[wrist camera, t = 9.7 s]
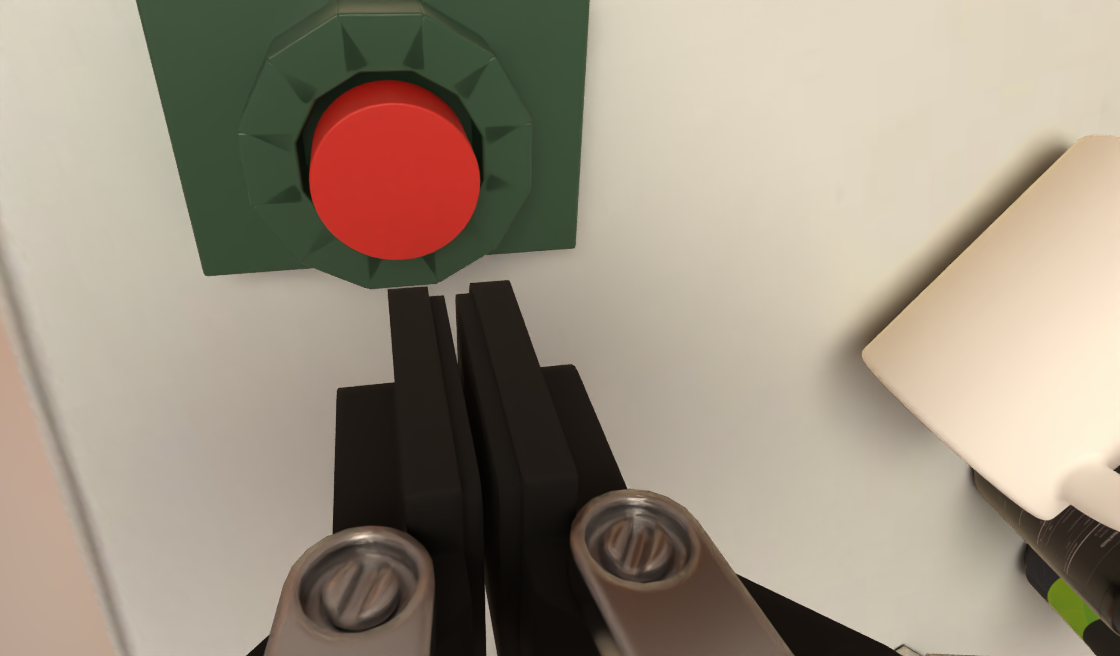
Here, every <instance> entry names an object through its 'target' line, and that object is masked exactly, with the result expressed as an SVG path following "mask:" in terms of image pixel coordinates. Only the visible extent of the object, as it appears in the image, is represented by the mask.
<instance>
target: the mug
mask: <svg viewBox="0 0 1120 656" xmlns="http://www.w3.org/2000/svg"><path fill="white" fill-rule="evenodd" d="M862 358H863V360H864V362H865V363H866V365H867V366H868V367H869V369H870V370H871V371H872V372H873V373H874V374H875V376H876V377H877V378H878V379H879V380H880V381H881V382H882V383H883V384H884V385H885V386H886V387H887V388H888V389H889V390H890V392H891V393H892V394H893V395H894V396H895V397H896V398H897V399H898V400H899V401H900V402H901V403H903V404H904V405H905V406H906V407H907V408H908V409H909V410H910V411H911V412H912V413H913V414H914V415H915V416H916V417H917V418H918V419H919V420H920V421H921V422H922V423H923V424H924V425H925V426H927V427H928V428H929V429H930V430H931V431H932V432H933V433H934V434H935V435H936V436H937V437H938V438H940V439H941V440H942V441H943V442H944V443H945V444H946V445H947V446H948V447H949V448H951V449H952V450H953V451H954V452H955V453H956V454H957V455H958V456H960V457H961V458H962V459H963V460H964V461H965V462H966V463H968V464H969V465H970V466H971V467H972V468H973V469H974V470H976V471H977V472H978V473H979V474H980V475H981V476H983V477H984V478H985V479H986V480H987V481H989V482H990V483H991V484H992V485H993V486H995V487H996V488H997V489H998V490H999V491H1001V492H1002V493H1003V494H1004V495H1006V496H1007V497H1008V498H1009V499H1011V500H1012V501H1013V502H1015V503H1016V504H1017V505H1019V506H1020V507H1021V508H1023V509H1024V510H1026V511H1027V512H1028V513H1030V514H1032V515H1033V516H1035V517H1037V518H1039V519H1042V520H1051V519H1053V518H1054V517H1056V516H1057V515H1058V514H1059V513H1061V512H1062V511H1063V510H1064V509H1066V508H1067V507H1068V506H1069V505H1072V506H1074V507H1075V508H1077V509H1078V510H1080V511H1081V512H1083V513H1084V514H1086V515H1087V516H1089V517H1091V518H1092V519H1094V520H1096V521H1098V522H1100V523H1102V524H1104V525H1106V526H1108V527H1110V528H1112V529H1114V530H1117V531H1119V532H1120V474H1118V473H1117V472H1115V471H1113V470H1114V469H1115V468H1117V467H1118V466H1119V465H1120V137H1116V136H1109V135H1090V136H1086V137H1083V138H1081V139H1079V140H1078V141H1077V142H1075V143H1074V144H1073V145H1072V146H1071V147H1070V148H1069V149H1068V150H1067V151H1066V152H1065V153H1064V154H1063V155H1062V156H1061V157H1060V158H1059V159H1058V160H1057V161H1056V162H1055V163H1054V164H1053V165H1052V166H1051V167H1050V168H1049V169H1048V170H1047V171H1046V172H1045V173H1043V174H1042V175H1041V176H1040V177H1039V178H1038V179H1037V180H1036V181H1035V182H1034V183H1033V184H1032V185H1031V186H1030V187H1029V188H1028V189H1027V190H1026V191H1025V192H1024V193H1023V194H1022V195H1021V196H1020V197H1019V198H1018V199H1017V200H1016V201H1015V202H1014V203H1013V204H1012V205H1011V206H1010V207H1009V208H1008V209H1007V210H1006V211H1005V212H1004V213H1002V214H1001V215H1000V216H999V217H998V218H997V219H996V220H995V221H994V222H993V223H992V224H991V225H990V226H989V227H988V228H987V229H986V230H985V231H984V232H983V233H982V234H981V235H980V236H979V237H978V238H977V239H976V240H975V241H974V242H973V243H972V244H971V245H970V246H969V247H968V248H967V249H966V250H965V251H964V252H963V253H961V254H960V255H959V256H958V257H957V258H956V259H955V260H954V261H953V262H952V263H951V264H950V265H949V266H948V267H947V268H946V269H945V270H944V271H943V272H942V273H941V274H940V275H939V276H938V277H937V278H936V279H935V280H934V281H933V282H932V283H931V284H930V285H929V286H928V287H927V288H926V289H925V290H924V291H923V292H922V293H920V294H919V295H918V296H917V297H916V298H915V299H914V300H913V301H912V302H911V303H910V304H909V305H908V306H907V307H906V308H905V309H904V310H903V311H902V312H901V313H900V314H899V315H898V316H897V317H896V318H895V319H894V320H893V321H892V322H891V323H890V324H889V325H888V326H887V327H886V328H885V329H884V330H883V331H882V332H881V333H879V334H878V335H877V336H876V337H875V338H874V339H873V340H872V341H871V342H870V343H869V344H868V345H867V346H866V347H865V348H864V349H863V351H862Z"/></svg>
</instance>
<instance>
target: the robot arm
mask: <svg viewBox="0 0 1120 656" xmlns="http://www.w3.org/2000/svg"><path fill="white" fill-rule="evenodd" d="M388 301H389V314H390V327H391V340H392V353H393V366H394V379H395V382H393V383H383V384H373V385H364V386H354V387H344V388H338V390H337V400H336V435H335V470H334V505H333V534H332V535H330V536H327V537H325V538H324V539H322V540H321V541H319V542H318V543H316V544H315V545H313V546H312V547H310V548H309V549H307V550H306V551H305V553H304V554H303V555H302V556H301V557H300V558H299V559H298V560H297V561H296V563H295V564H294V565H293V566H292V568H291V570H290V572H289V574H288V576H287V578H286V581H285V583H284V585H283V588H282V592H281V595H280V599H279V603H278V606H277V610H276V613H275V617H274V621H273V624H272V628H271V631H270V635H268V636H267V637H266V638H265V639H264V640H263V641H262V642H261V643H260V644H259V645H257V646H256V647H255V648H254V649H253V650H252V651H251V652H250V653H249V654H248V655H246V656H486V624H485V588H486V593H487V599H488V605H489V610H490V616H491V622H492V627H493V633H494V639H495V644H496V650H497V655H498V656H902V655H901V654H899V653H897V652H896V651H894V650H893V649H891V648H889V647H888V646H886V645H884V644H882V643H880V642H878V641H875V640H873V639H871V638H869V637H867V636H865V635H863V634H861V633H859V632H857V631H855V630H853V629H850V628H848V627H846V626H844V625H842V624H840V623H838V622H836V621H834V620H832V619H830V618H827V617H825V616H823V615H821V614H819V613H817V612H815V611H813V610H811V609H809V608H807V607H805V606H802V605H800V604H798V603H796V602H794V601H792V600H790V599H788V598H786V597H784V596H782V595H779V594H777V593H775V592H773V591H771V590H769V589H767V588H765V587H763V586H761V585H759V584H756V583H754V582H752V581H750V580H748V579H746V578H744V577H742V576H740V575H738V574H736V573H735V572H734V571H733V569H732V568H731V567H730V565H729V564H728V562H727V561H726V560H725V558H724V557H723V555H722V554H721V553H720V551H719V550H718V548H717V547H716V546H715V544H714V543H713V541H712V540H711V539H710V537H709V536H708V534H707V533H706V532H705V530H704V529H703V527H702V526H701V525H700V523H699V522H698V521H697V520H696V519H695V518H694V516H693V515H692V514H691V513H690V512H689V511H688V510H687V509H686V508H685V507H683V506H682V505H680V504H678V503H677V502H675V501H673V500H672V499H670V498H668V497H666V496H663V495H660V494H657V493H654V492H651V491H644V490H634V489H627V487H626V484H625V482H624V480H623V477H622V475H621V473H620V470H619V468H618V465H617V463H616V461H615V458H614V456H613V454H612V451H611V449H610V446H609V444H608V442H607V439H606V437H605V435H604V432H603V430H602V427H601V425H600V423H599V420H598V418H597V416H596V413H595V411H594V409H593V406H592V404H591V401H590V399H589V397H588V394H587V392H586V390H585V387H584V385H583V382H582V380H581V378H580V375H579V373H578V371H577V369H576V367H575V366H574V365H572V364H568V365H558V366H548V367H540V365H539V362H538V359H537V357H536V354H535V351H534V348H533V345H532V342H531V340H530V337H529V334H528V331H527V328H526V326H525V323H524V320H523V317H522V314H521V311H520V309H519V306H518V303H517V300H516V297H515V294H514V292H513V289H512V286H511V283H510V281H509V280H504V281H491V282H478V283H470V286H469V293H467V294H456V299H455V302H456V327H457V351H458V364H457V359H456V354H455V348H454V343H453V338H452V333H451V328H450V323H449V318H448V313H447V308H446V303H445V298H444V295H442V296H430V297H429V293H428V287H427V286H426V287H413V288H400V289H388ZM926 656H975V655H949V654H926Z"/></svg>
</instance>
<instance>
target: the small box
mask: <svg viewBox="0 0 1120 656" xmlns="http://www.w3.org/2000/svg"><path fill="white" fill-rule="evenodd" d="M896 652H897V653H899V654H901V655H902V656H920V655H918V654H916V653H915V652H913V651H912V650H910V649H908V648H907V647H905V646H903V647H901V648H900V649H898V650H896Z"/></svg>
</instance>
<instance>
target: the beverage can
mask: <svg viewBox="0 0 1120 656" xmlns="http://www.w3.org/2000/svg"><path fill="white" fill-rule="evenodd" d="M1025 565H1026V577H1027V579H1028V581H1029V582H1030V584H1031V585H1032V586H1033V587H1034V588H1035V589H1036V590H1037V591H1038V592H1039V594H1040V595H1041V596H1042V597H1043V598H1044V599H1045V600H1046V601H1047V602H1048V603H1049V604H1050V605H1051V607H1052V608H1053V609H1054V610H1055V611H1056V612H1057V613H1058V614H1059V615H1060V616H1061V617H1062V619H1063V620H1064V621H1065V622H1066V623H1067V624H1068V625H1069V626H1070V627H1071V628H1072V629H1073V631H1074V632H1075V633H1076V634H1077V635H1078V636H1079V637H1080V638H1081V639H1082V640H1083V641H1084V643H1085V644H1086V645H1087V646H1088V647H1089V648H1090V649H1091V650H1092V651H1093V652H1094V653H1095V655H1096V656H1120V636H1119V635H1117V634H1116V633H1115V632H1113V631H1112V630H1111V629H1110V628H1109V627H1108V626H1107V625H1106V624H1105V623H1104V622H1103V621H1102V620H1101V619H1100V618H1099V617H1098V616H1097V615H1096V614H1095V613H1094V612H1093V611H1092V610H1091V609H1090V608H1089V607H1088V605H1087V604H1086V603H1085V602H1084V601H1083V600H1082V599H1081V598H1080V597H1079V596H1078V595H1077V594H1076V593H1075V592H1074V591H1073V590H1072V589H1071V588H1070V587H1069V586H1068V585H1067V584H1066V583H1065V582H1064V581H1063V580H1062V579H1061V578H1060V576H1059V575H1058V574H1057V573H1056V572H1055V571H1054V570H1053V569H1052V568H1051V567H1050V566H1049V565H1048V564H1047V563H1046V562H1045V561H1044V560H1043V559H1042V558H1041V557H1040V556H1039V555H1038V554H1037V553H1036V552H1035V551H1034V550H1033V549H1032V548H1031V546H1030V545H1029V546H1028V548H1027V550H1026V553H1025Z"/></svg>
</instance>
